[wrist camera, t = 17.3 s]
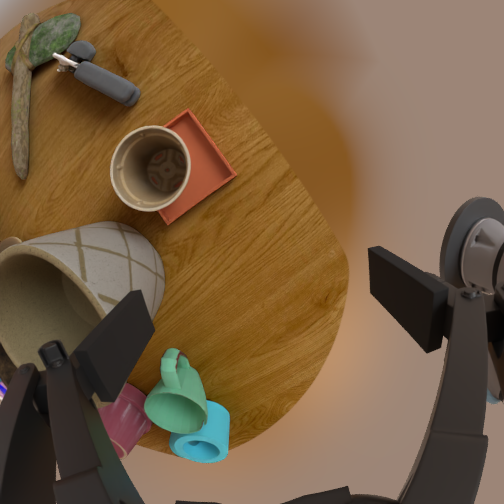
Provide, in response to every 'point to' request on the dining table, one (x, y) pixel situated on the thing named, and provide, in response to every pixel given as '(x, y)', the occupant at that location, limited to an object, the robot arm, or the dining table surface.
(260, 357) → the dining table surface
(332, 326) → the dining table surface
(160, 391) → the mug
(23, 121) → the stone axe
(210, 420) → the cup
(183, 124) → the pot tray
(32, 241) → the planter
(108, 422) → the flower pot
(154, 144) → the flower pot
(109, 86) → the can opener
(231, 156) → the dining table surface
